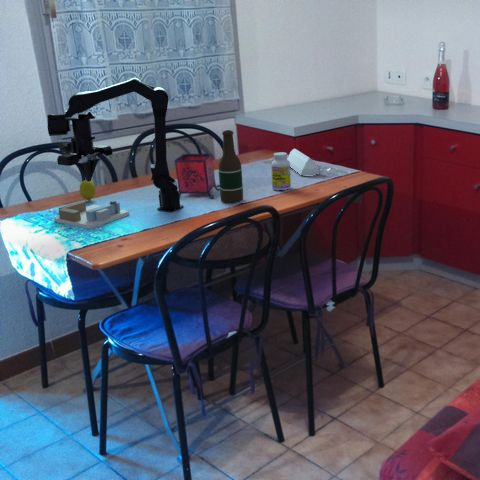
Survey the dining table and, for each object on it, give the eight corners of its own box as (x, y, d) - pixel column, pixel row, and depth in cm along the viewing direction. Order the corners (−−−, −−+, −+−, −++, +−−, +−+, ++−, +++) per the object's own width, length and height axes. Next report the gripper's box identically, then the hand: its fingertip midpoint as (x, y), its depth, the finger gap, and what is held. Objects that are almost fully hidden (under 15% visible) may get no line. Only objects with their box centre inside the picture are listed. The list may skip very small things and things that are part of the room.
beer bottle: (216, 201, 235) (211, 131, 227) (231, 196, 241) (227, 128, 233) (232, 205, 230) (228, 133, 222) (248, 199, 235) (244, 129, 228)
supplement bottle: (269, 190, 244) (268, 155, 240) (275, 186, 250) (274, 151, 246) (287, 191, 242) (286, 155, 238) (293, 186, 248) (292, 151, 244)
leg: (114, 210, 227) (113, 199, 226) (120, 211, 225) (119, 200, 224) (86, 220, 218) (85, 209, 217) (92, 221, 217) (90, 210, 215)
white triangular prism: (279, 156, 280) (297, 169, 258) (294, 146, 280) (313, 157, 258) (289, 171, 283) (307, 184, 260) (303, 160, 283) (322, 173, 260)
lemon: (93, 203, 243) (90, 181, 240) (78, 203, 244) (75, 181, 241) (99, 198, 248) (96, 177, 245) (85, 198, 249) (82, 177, 246)
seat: (129, 214, 226) (128, 202, 225) (90, 229, 214) (88, 216, 212) (93, 207, 236) (92, 196, 235) (54, 221, 224) (52, 209, 222)
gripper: (87, 127, 230) (93, 172, 235) (42, 137, 216) (50, 185, 221) (110, 129, 224) (116, 175, 229) (65, 139, 210) (72, 189, 215)
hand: (88, 181), depth 224 cm, fingers closed
